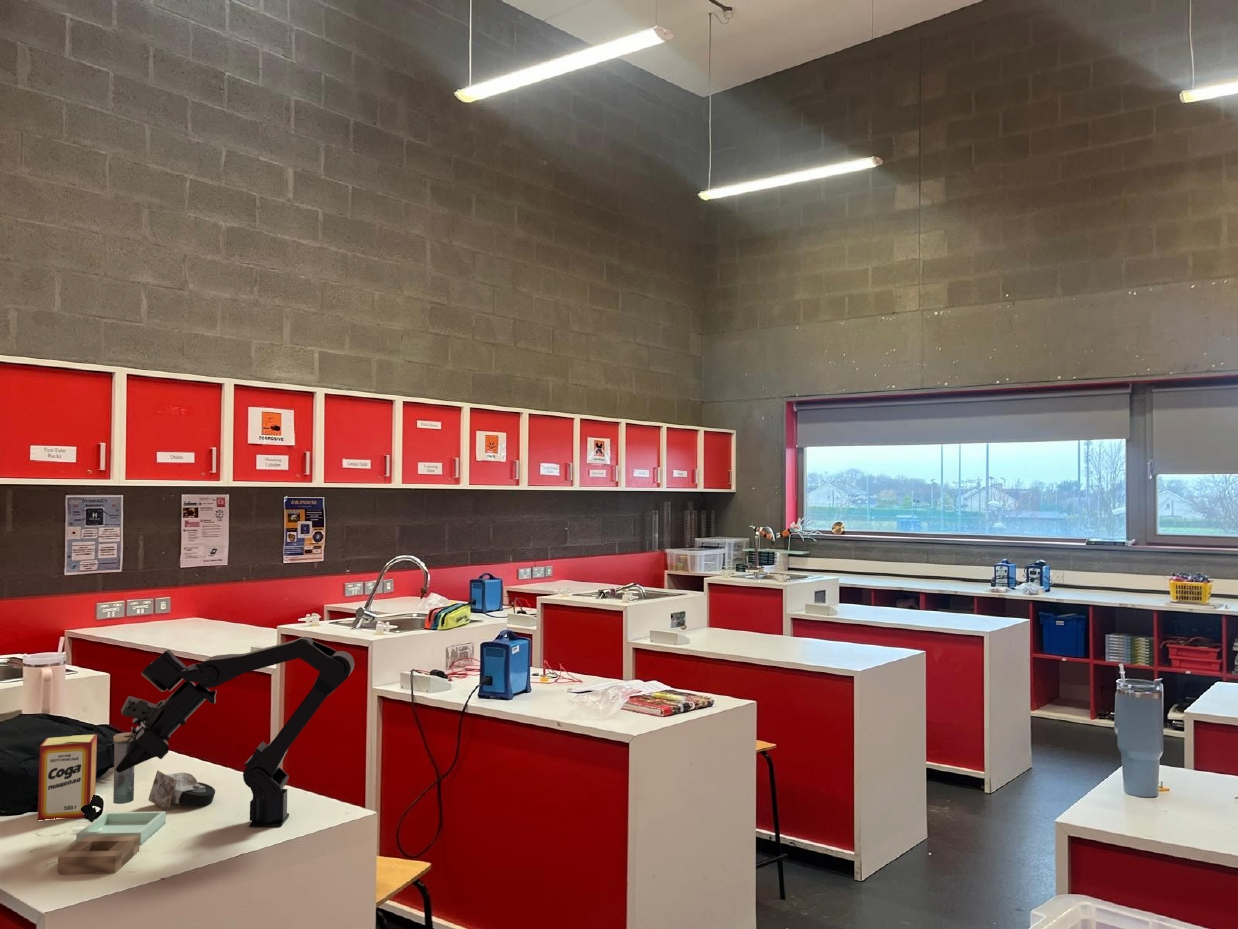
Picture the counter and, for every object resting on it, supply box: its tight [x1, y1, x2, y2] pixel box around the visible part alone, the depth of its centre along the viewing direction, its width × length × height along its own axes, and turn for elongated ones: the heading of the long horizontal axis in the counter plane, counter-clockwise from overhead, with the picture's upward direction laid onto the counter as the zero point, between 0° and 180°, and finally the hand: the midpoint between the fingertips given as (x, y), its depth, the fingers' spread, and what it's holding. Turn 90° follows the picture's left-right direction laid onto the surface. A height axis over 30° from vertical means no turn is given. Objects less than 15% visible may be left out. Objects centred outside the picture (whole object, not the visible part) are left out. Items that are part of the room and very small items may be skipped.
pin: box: [112, 731, 136, 805], centre depth 186 cm, size 4×4×13 cm
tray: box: [75, 810, 167, 846], centre depth 185 cm, size 12×12×2 cm
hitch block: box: [56, 836, 140, 875], centre depth 172 cm, size 10×10×3 cm
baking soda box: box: [37, 734, 98, 821], centre depth 197 cm, size 10×6×16 cm
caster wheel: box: [148, 770, 216, 812], centre depth 204 cm, size 7×11×10 cm
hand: (116, 768), depth 185 cm, fingers closed on pin, 4 cm apart
